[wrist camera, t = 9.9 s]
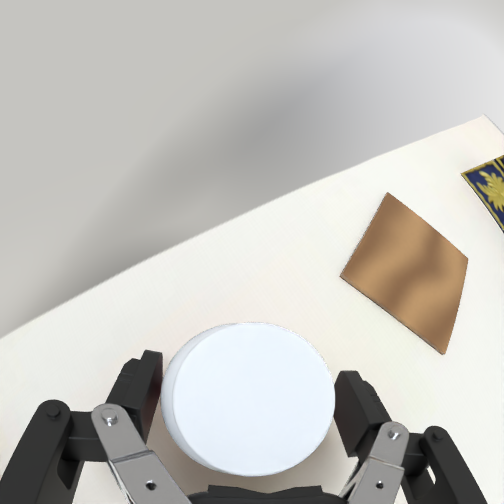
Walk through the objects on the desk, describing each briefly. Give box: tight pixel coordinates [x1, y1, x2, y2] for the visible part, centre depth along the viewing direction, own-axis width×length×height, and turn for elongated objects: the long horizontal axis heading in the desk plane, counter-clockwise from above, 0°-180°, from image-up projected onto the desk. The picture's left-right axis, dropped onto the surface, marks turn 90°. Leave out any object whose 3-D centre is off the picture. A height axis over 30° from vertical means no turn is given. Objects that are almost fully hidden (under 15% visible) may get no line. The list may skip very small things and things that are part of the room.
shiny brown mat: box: [340, 192, 468, 355], centre depth 24 cm, size 12×12×1 cm
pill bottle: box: [160, 322, 335, 477], centre depth 12 cm, size 6×6×11 cm
